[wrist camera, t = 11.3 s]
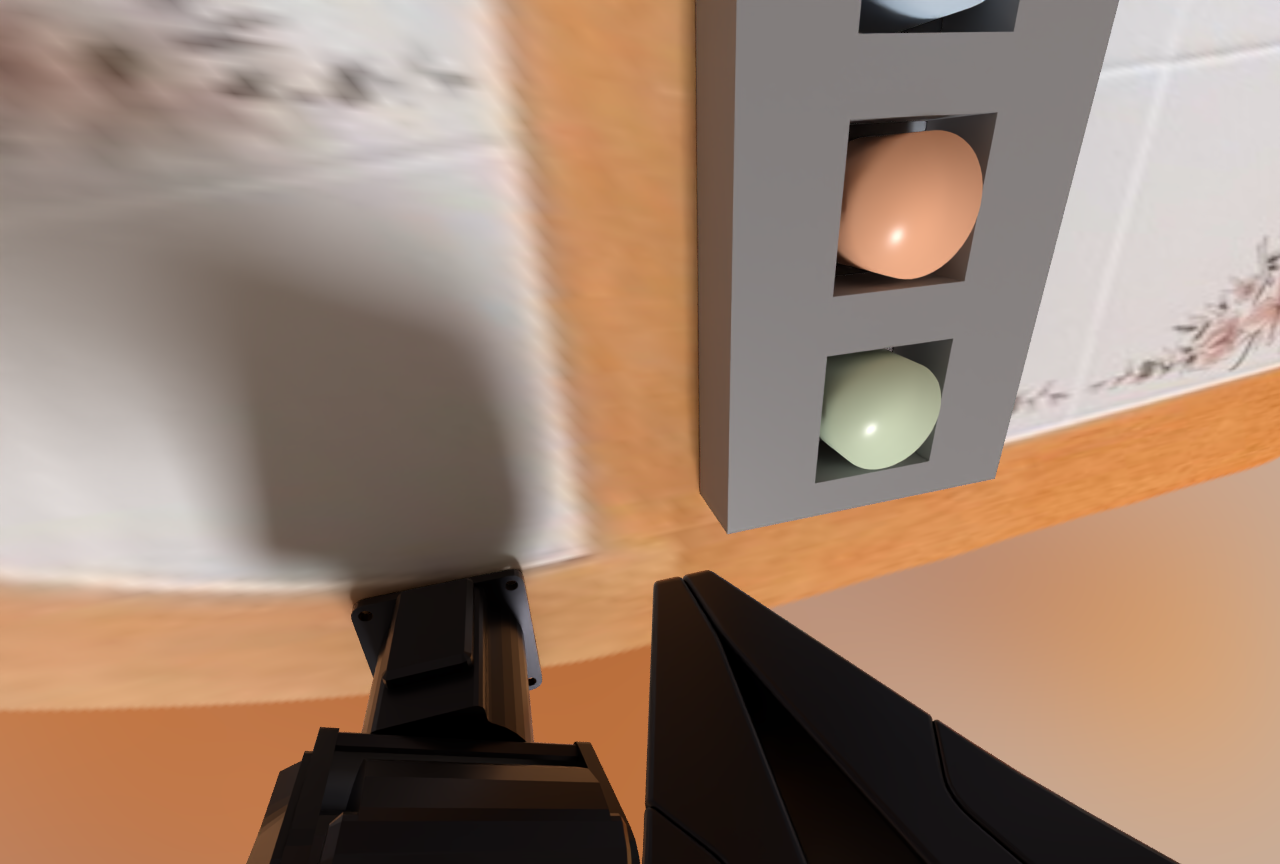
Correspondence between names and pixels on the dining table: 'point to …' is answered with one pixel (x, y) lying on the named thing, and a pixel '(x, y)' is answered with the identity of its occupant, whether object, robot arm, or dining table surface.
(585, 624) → the dining table surface
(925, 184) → the button terracotta
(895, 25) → the button blue
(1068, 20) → the button panel
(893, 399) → the button sage
